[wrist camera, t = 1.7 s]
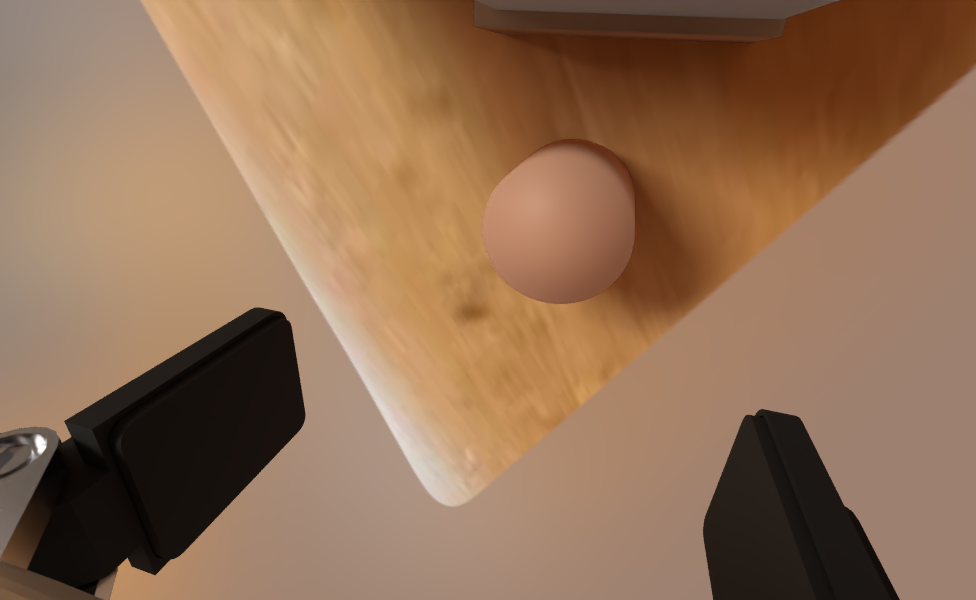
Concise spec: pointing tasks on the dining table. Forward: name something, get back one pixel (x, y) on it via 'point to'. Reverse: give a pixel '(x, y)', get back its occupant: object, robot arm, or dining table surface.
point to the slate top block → (668, 7)
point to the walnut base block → (627, 25)
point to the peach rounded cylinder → (562, 222)
